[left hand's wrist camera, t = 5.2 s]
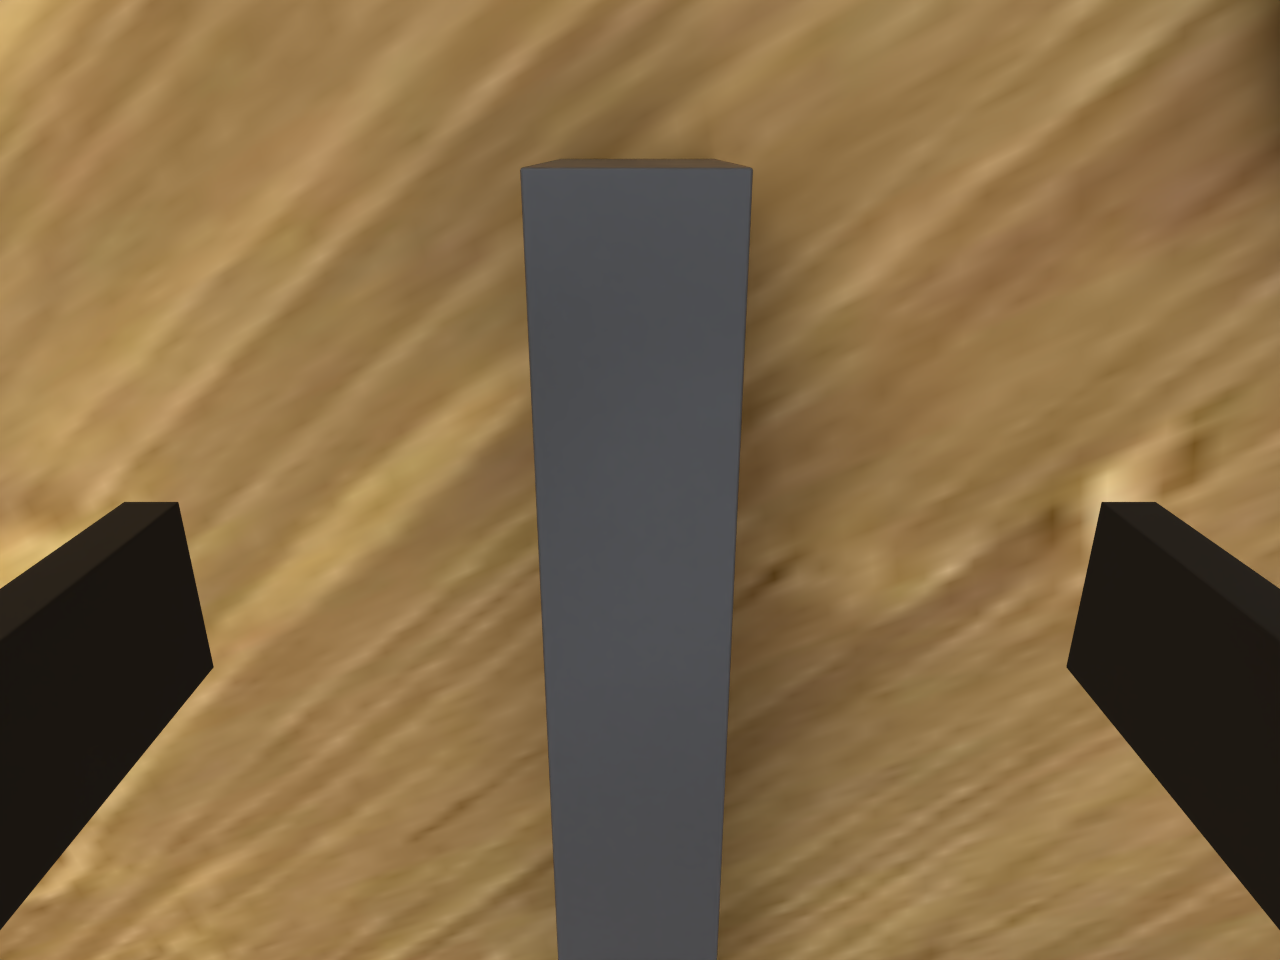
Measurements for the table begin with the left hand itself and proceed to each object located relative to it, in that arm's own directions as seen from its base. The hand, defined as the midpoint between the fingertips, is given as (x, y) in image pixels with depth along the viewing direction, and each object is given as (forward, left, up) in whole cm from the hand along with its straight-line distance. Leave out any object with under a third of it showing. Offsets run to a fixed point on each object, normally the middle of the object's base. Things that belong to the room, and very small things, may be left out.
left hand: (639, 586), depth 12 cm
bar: (+17, -30, -15) cm, 38 cm away
